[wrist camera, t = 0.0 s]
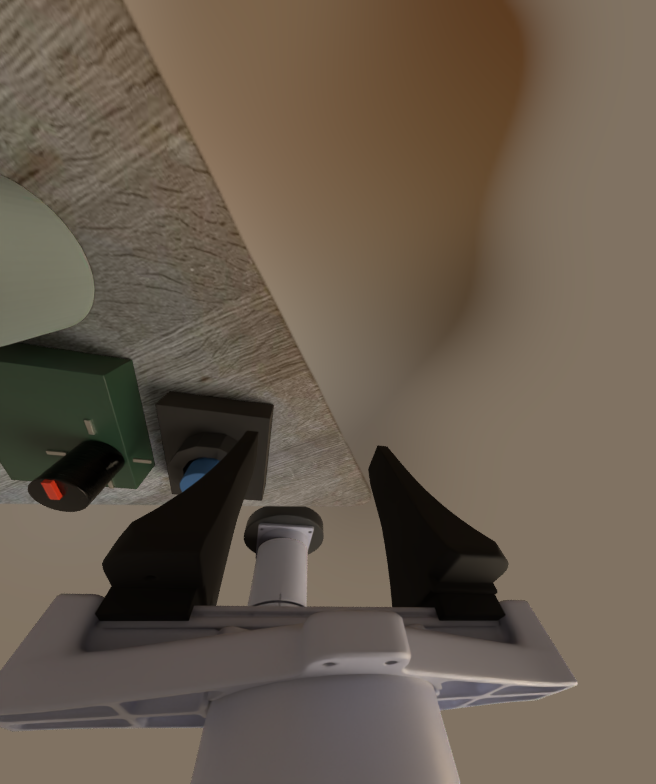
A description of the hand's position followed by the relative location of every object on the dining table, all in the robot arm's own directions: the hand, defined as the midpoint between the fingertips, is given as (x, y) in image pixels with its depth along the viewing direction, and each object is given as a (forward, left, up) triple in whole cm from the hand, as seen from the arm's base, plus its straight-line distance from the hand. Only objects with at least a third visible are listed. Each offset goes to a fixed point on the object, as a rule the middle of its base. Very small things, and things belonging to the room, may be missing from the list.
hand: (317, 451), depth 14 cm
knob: (-8, +17, -5) cm, 19 cm away
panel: (-6, +20, -8) cm, 22 cm away
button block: (-8, +8, -8) cm, 14 cm away
